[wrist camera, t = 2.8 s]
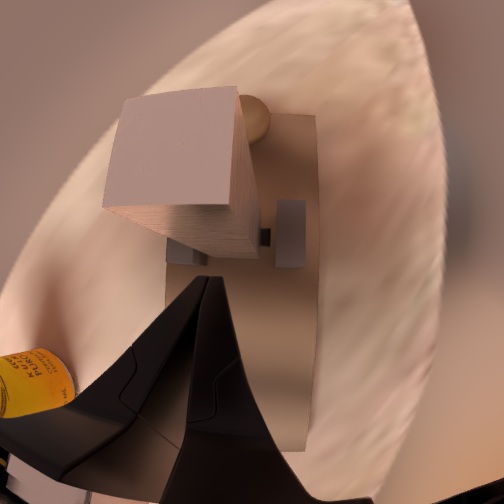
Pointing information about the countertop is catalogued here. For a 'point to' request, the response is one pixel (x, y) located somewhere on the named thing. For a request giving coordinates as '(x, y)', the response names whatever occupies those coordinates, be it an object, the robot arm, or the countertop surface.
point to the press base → (272, 272)
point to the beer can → (33, 383)
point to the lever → (188, 171)
